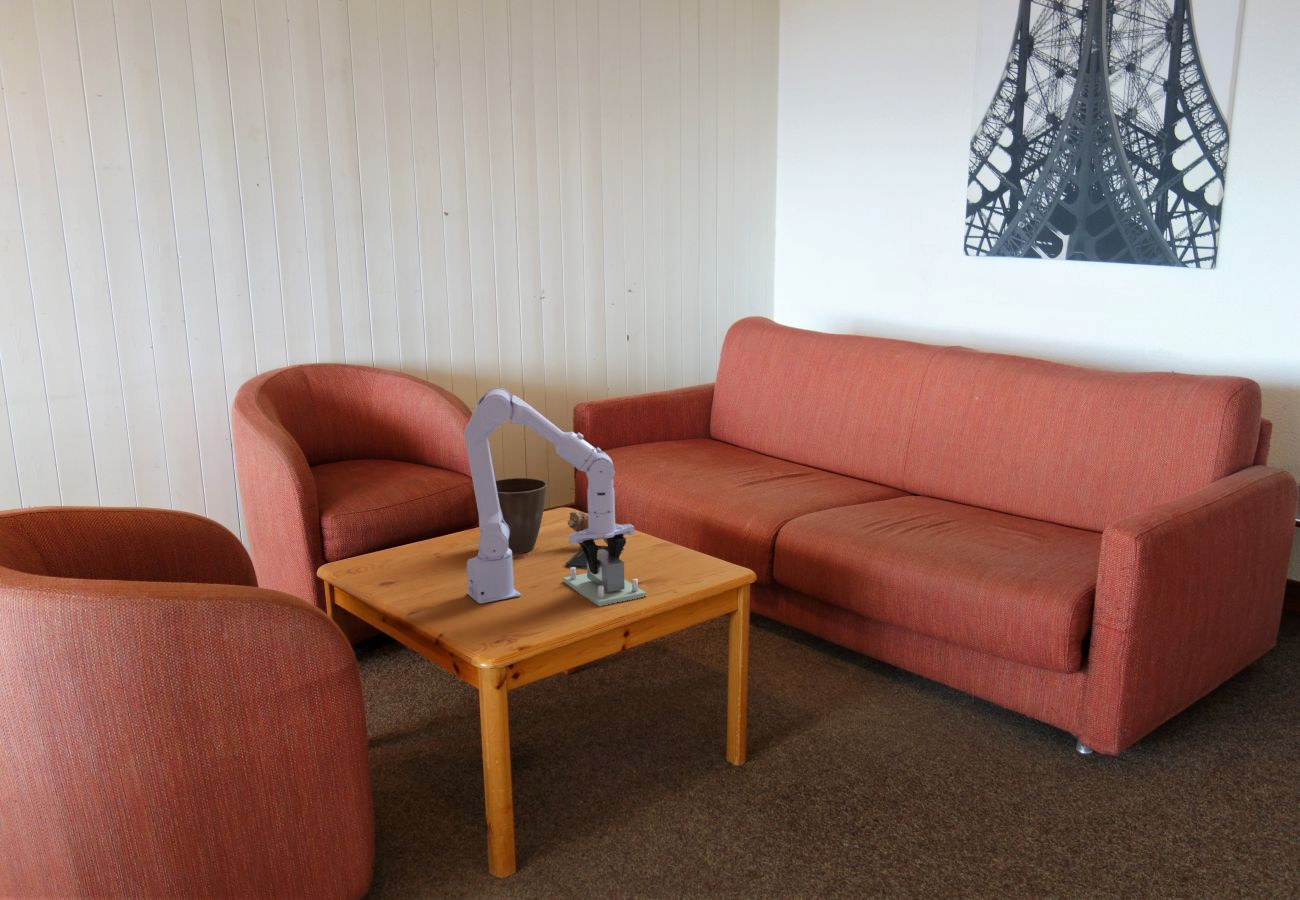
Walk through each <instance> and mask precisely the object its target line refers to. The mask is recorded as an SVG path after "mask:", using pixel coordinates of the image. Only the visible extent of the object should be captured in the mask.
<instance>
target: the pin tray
mask: <svg viewBox="0 0 1300 900" xmlns="http://www.w3.org/2000/svg"><path fill="white" fill-rule="evenodd" d="M569 570H570V571H569V573H570V575H569V576H565V577H564V576H563V578H562V579H563V583H564V584H566V585H567V586H569V587H571V589H573V590H575V591H576V592H577V593H579V594H580V595H582V596H583V597H584V598H586V599H588V600H589V602H592V603H593V602H594V604H595V606H597V607H604V606H608V604H609V605H613V604H612V603H614V604H618V603H617V602H619V603H622V601H623V602H628V601H632V599H633V600H637V598H638V599H642V598H641V597H643V598H645V597H644V596H646V597H647V592H646V591H644V590H643V589H642V588H639V581H638V578H632V579H631V582H629V580H627V579H625V578H624V587H625V589H622V590H617V591H612V592H606V591H605V590H604V586H602V585H600V586H598V585H596V584H595V583H594V582H592V581H591V580H589V579H588V578H587V572H586V573H580V574H577V571H576V570H577V568H575V567H569ZM627 600H628V601H627ZM603 605H604V606H603Z"/></svg>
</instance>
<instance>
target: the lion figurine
mask: <svg viewBox="0 0 1300 900" xmlns="http://www.w3.org/2000/svg"><path fill="white" fill-rule="evenodd" d="M567 525H568V526H569V528H570V529H572V530H573V531H575V533H577V532H580V531H583V530H586V529H588V514H586V513H584V512H582V511H579V510H573V511H571V512H569V520H568V521H567ZM602 541H604V543H605V544H606V546H608V544H607V539H606V538H605V539H602ZM622 551H625V548H624V547H623V549H622Z"/></svg>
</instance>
